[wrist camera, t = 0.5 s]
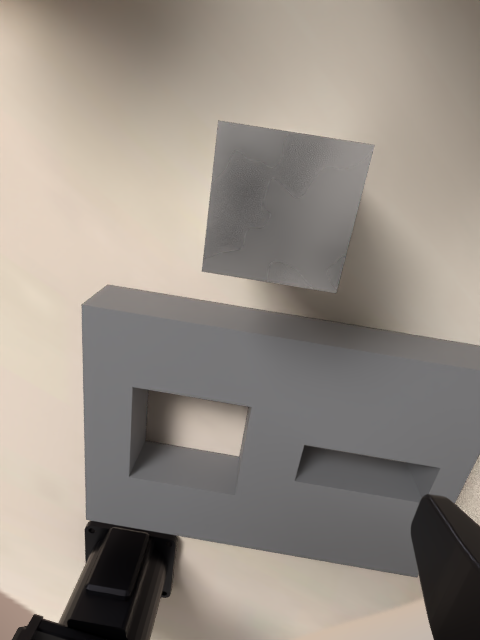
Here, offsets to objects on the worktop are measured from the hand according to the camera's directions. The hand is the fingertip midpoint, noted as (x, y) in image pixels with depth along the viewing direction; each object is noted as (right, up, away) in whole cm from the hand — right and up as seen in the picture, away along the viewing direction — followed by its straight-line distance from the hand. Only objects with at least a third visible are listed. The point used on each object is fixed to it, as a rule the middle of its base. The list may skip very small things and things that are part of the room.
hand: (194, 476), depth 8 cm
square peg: (+3, +9, +10) cm, 14 cm away
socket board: (+3, -3, +15) cm, 16 cm away
